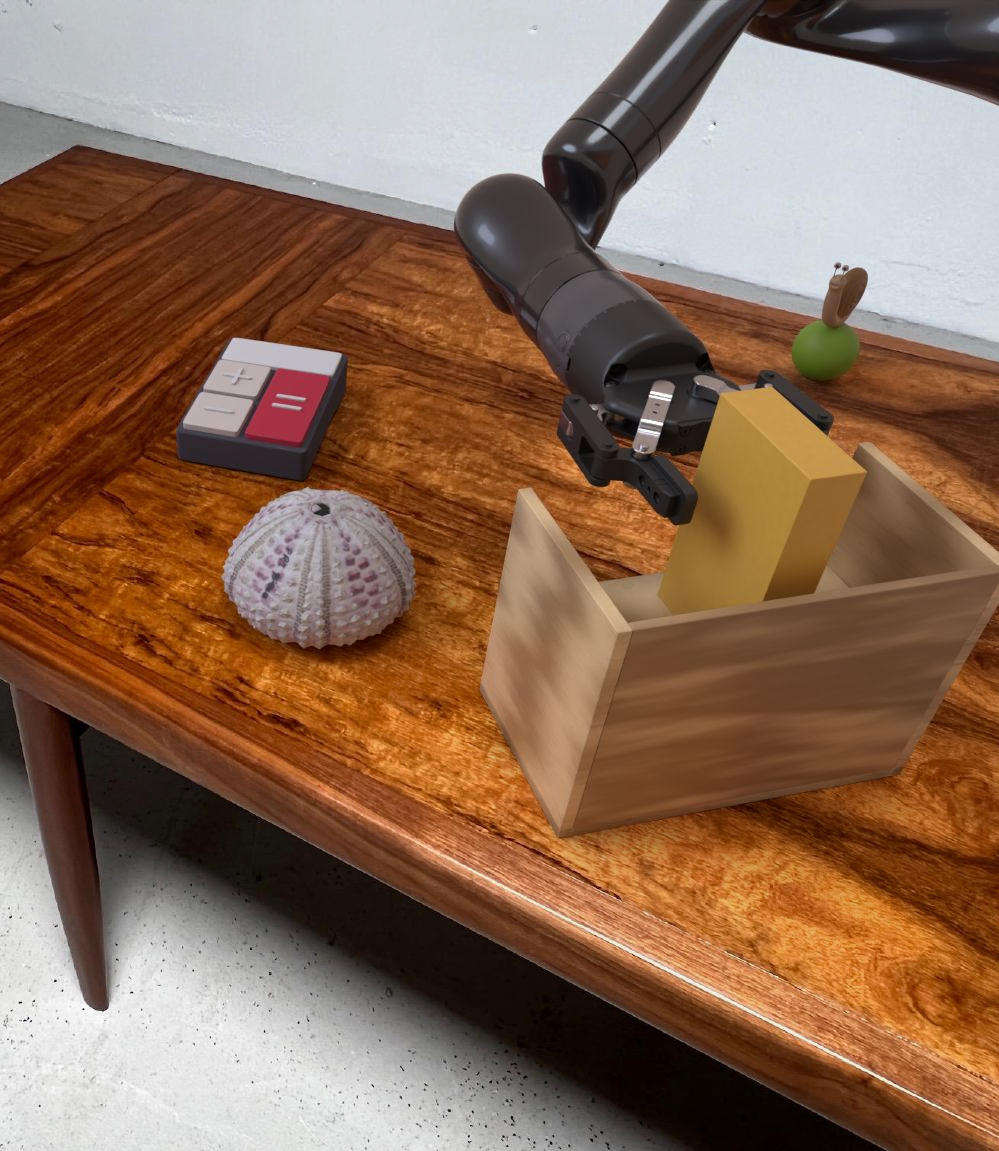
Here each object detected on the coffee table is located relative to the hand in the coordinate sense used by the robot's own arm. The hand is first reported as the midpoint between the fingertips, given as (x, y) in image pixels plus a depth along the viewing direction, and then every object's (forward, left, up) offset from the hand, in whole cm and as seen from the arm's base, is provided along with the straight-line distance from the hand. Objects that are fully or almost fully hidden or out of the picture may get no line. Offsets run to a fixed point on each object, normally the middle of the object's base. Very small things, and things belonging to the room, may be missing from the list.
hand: (762, 501), depth 59 cm
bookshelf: (0, 0, -18) cm, 18 cm away
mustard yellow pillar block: (0, 0, -10) cm, 10 cm away
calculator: (-5, -43, -18) cm, 47 cm away
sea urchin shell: (+8, -24, -18) cm, 31 cm away
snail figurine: (-47, -15, -18) cm, 52 cm away
